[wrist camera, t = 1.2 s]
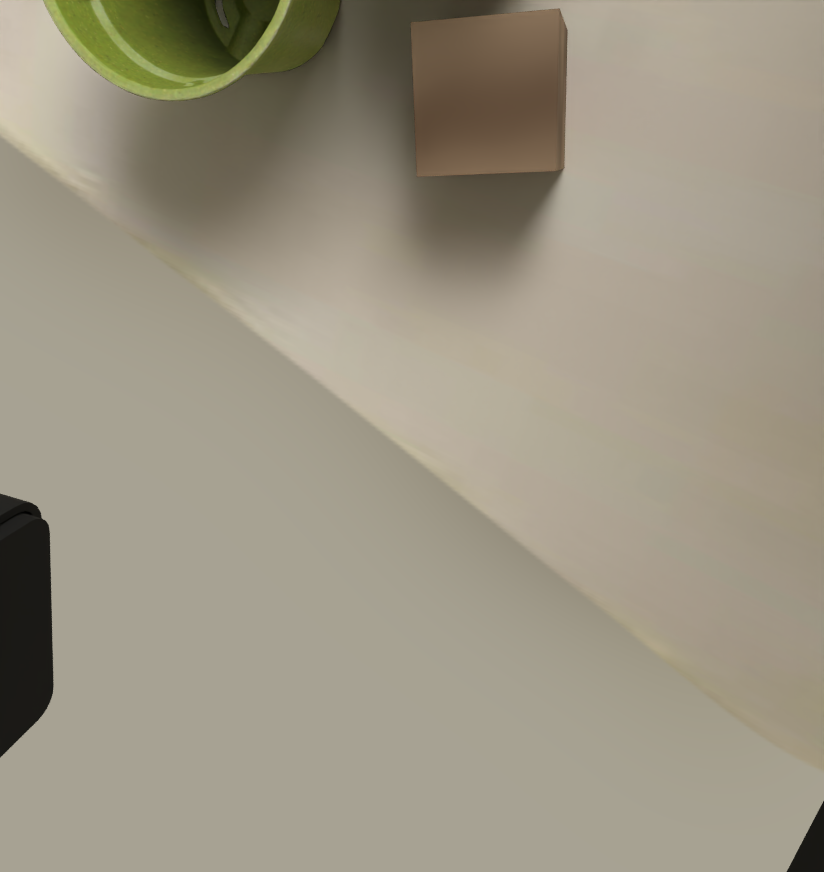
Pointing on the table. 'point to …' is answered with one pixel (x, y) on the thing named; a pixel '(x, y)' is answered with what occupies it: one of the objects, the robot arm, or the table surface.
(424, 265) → the table surface
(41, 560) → the robot arm
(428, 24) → the walnut block
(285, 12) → the plant pot
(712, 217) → the table surface
